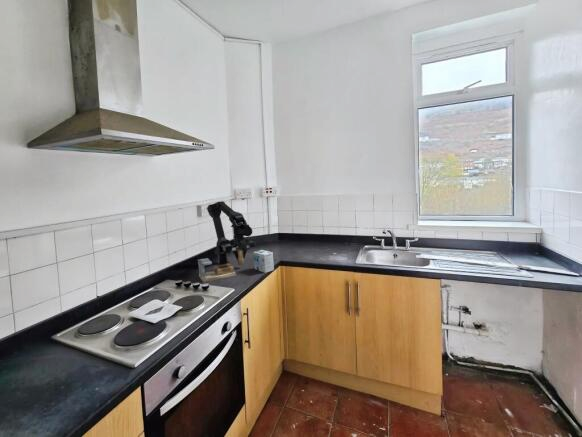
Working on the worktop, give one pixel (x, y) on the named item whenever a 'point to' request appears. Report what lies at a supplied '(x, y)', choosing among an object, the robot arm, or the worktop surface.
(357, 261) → the worktop surface
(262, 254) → the light bulb box
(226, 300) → the worktop surface
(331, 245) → the worktop surface
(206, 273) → the awning socket
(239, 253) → the peg
